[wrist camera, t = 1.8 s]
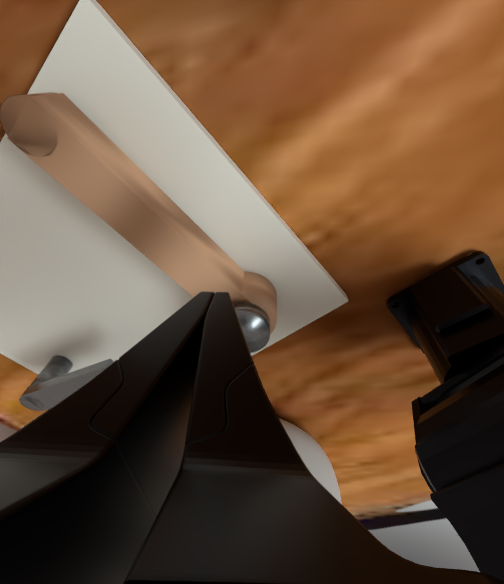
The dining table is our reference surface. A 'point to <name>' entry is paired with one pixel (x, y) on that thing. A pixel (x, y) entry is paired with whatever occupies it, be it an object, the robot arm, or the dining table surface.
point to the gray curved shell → (313, 458)
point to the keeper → (61, 383)
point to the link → (127, 198)
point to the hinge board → (110, 244)
